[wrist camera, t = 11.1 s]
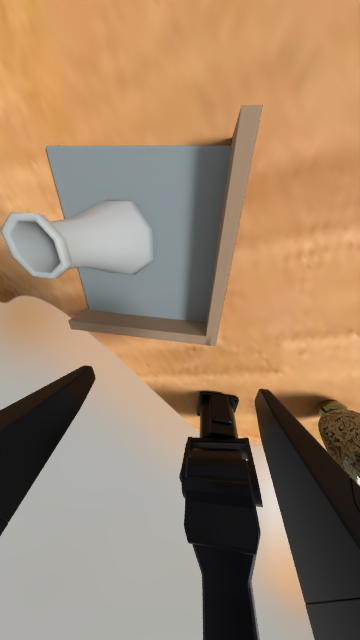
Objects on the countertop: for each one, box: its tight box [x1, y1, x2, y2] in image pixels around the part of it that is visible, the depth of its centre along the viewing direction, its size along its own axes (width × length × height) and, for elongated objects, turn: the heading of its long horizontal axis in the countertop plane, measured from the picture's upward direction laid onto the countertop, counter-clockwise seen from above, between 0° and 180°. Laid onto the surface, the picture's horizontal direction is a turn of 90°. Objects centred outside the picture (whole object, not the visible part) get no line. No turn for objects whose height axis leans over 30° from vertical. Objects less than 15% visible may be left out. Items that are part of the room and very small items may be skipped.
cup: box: [318, 401, 360, 482], centre depth 21 cm, size 8×7×8 cm
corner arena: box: [46, 105, 263, 346], centre depth 16 cm, size 18×18×4 cm
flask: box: [0, 200, 154, 279], centre depth 12 cm, size 7×7×10 cm
